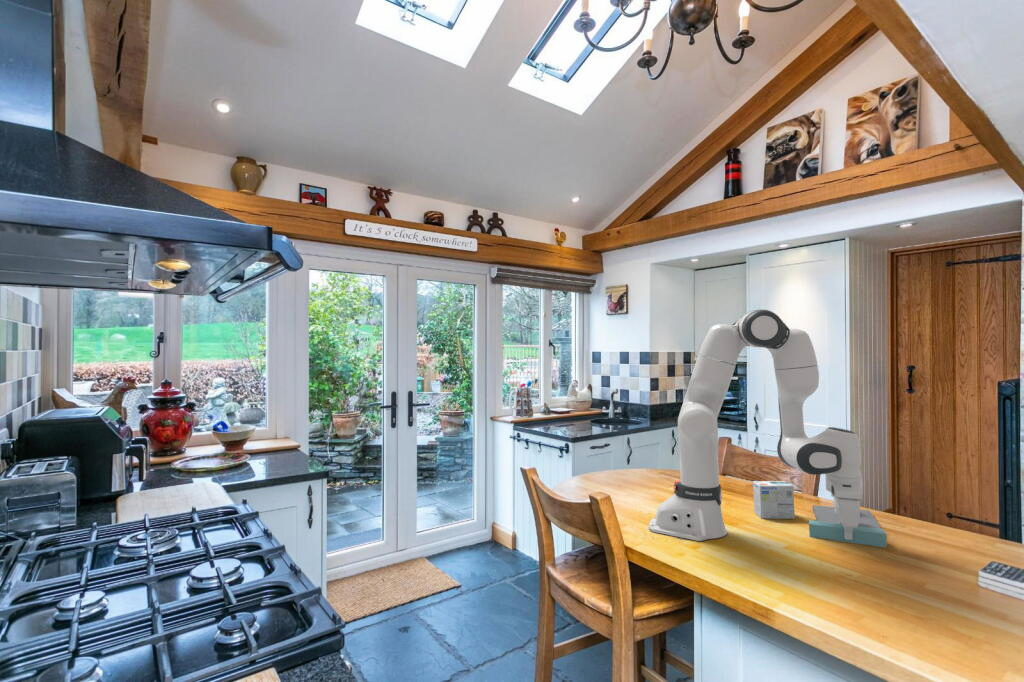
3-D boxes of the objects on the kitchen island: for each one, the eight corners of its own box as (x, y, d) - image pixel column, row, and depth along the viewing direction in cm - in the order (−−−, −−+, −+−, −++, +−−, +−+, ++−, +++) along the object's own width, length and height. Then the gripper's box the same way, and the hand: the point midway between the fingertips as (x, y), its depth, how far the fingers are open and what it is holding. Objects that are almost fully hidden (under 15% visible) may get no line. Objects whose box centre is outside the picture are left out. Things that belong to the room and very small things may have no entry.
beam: (809, 537, 145) (809, 523, 145) (809, 533, 149) (809, 519, 149) (886, 548, 136) (885, 534, 136) (885, 544, 139) (884, 529, 139)
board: (819, 529, 151) (818, 501, 151) (812, 508, 171) (811, 484, 171) (884, 536, 144) (882, 507, 144) (869, 514, 164) (868, 488, 164)
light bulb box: (786, 512, 167) (785, 480, 168) (795, 519, 161) (794, 485, 161) (753, 512, 168) (751, 480, 169) (761, 519, 162) (759, 485, 162)
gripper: (826, 475, 153) (828, 521, 153) (835, 492, 135) (837, 544, 135) (851, 477, 151) (853, 524, 150) (863, 495, 132) (866, 548, 132)
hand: (846, 534), depth 142 cm, fingers open, 7 cm apart
